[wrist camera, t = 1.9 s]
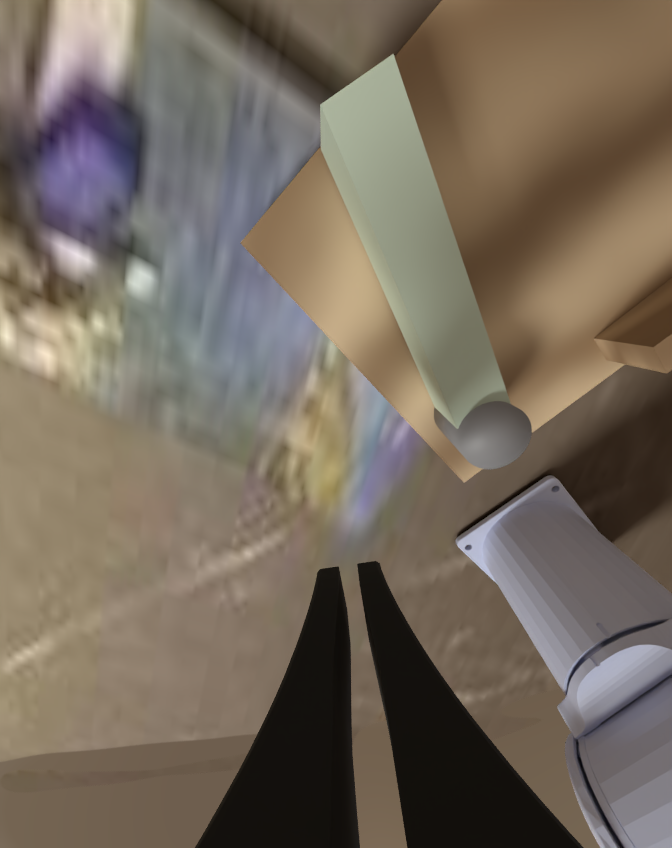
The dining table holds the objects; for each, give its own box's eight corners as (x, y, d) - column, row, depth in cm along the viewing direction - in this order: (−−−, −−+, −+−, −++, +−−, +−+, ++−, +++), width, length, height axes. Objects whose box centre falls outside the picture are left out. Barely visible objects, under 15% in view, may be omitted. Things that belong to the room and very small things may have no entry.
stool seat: (714, 265, 16) (918, 249, 11) (451, 465, 20) (499, 529, 15) (562, -120, 11) (803, -538, 6) (250, 249, 15) (208, 221, 10)
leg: (497, 420, 17) (539, 450, 13) (445, 445, 17) (474, 479, 14) (383, 107, 12) (407, 33, 8) (314, 153, 12) (311, 101, 9)
